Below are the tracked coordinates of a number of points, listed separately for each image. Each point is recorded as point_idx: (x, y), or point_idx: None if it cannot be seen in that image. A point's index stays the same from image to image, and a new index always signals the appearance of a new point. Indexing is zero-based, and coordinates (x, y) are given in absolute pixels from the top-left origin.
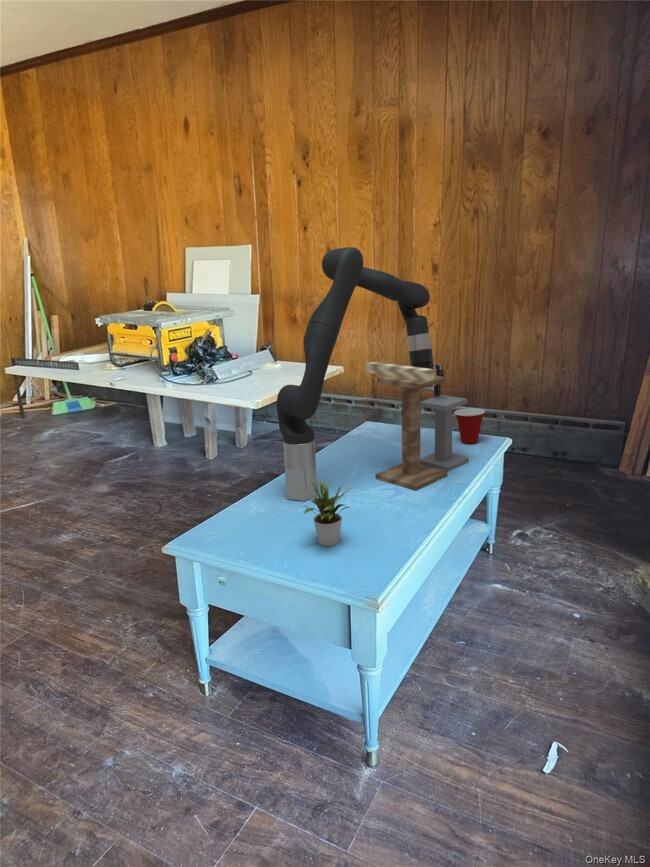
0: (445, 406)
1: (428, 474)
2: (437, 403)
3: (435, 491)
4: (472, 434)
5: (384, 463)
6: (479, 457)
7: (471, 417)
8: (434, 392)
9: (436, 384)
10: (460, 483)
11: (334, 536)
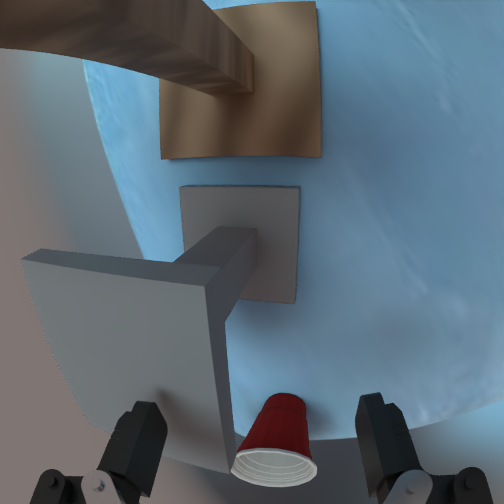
0: (22, 258)
1: (184, 100)
2: (81, 302)
3: None
4: (261, 413)
5: (394, 127)
6: None
7: (246, 447)
8: (140, 427)
9: (89, 473)
10: (119, 140)
11: None
